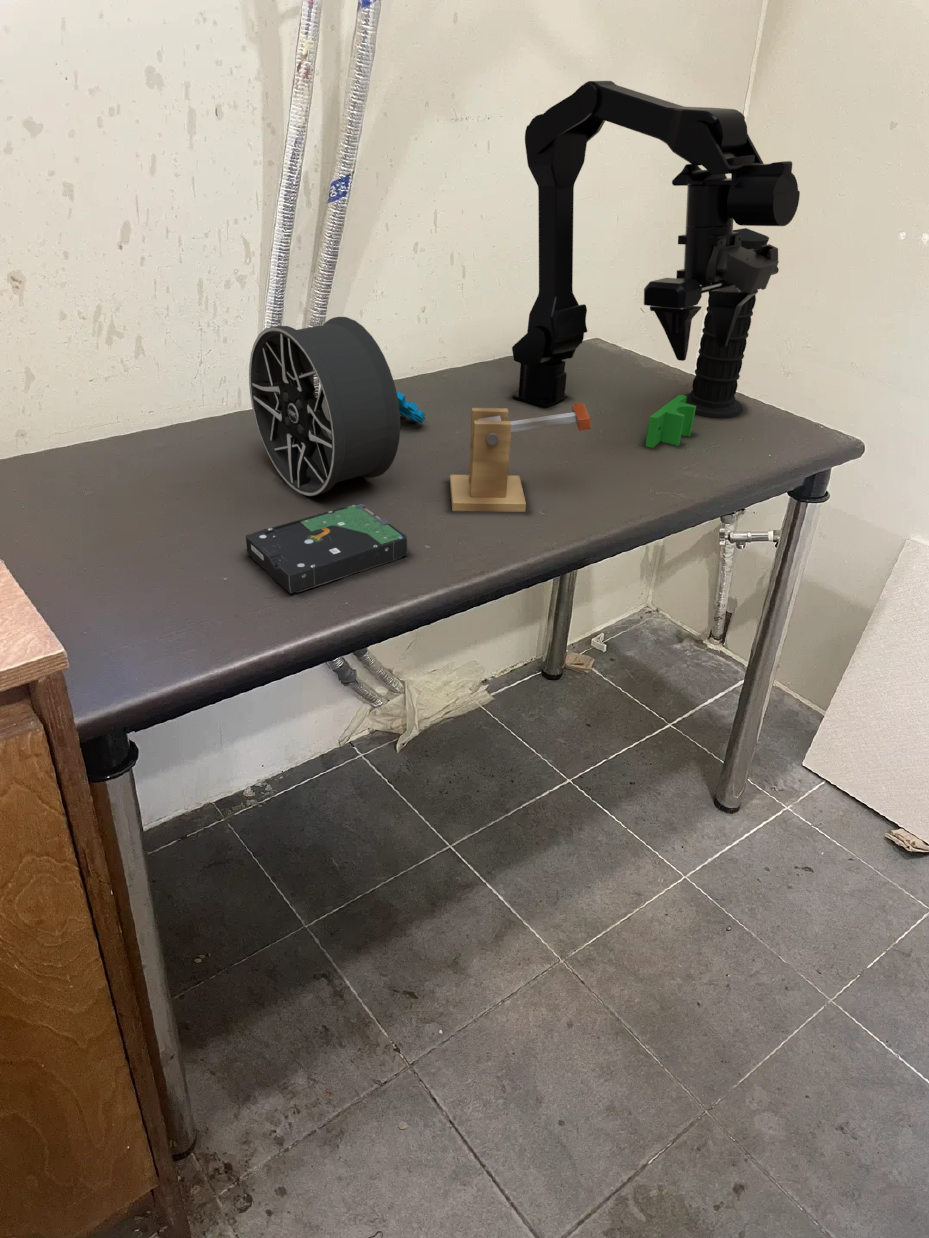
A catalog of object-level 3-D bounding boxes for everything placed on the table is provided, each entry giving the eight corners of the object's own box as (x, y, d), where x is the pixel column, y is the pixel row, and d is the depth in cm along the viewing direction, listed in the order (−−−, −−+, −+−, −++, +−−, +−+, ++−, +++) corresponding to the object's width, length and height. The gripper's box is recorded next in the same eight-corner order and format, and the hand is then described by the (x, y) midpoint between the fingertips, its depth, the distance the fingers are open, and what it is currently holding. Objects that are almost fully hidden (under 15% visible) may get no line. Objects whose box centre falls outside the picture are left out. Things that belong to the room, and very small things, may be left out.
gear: (440, 420, 131) (395, 380, 124) (418, 455, 131) (372, 416, 124) (398, 406, 139) (353, 367, 132) (377, 439, 138) (331, 402, 132)
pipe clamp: (669, 453, 129) (675, 423, 126) (645, 447, 131) (649, 416, 128) (698, 428, 137) (703, 399, 134) (674, 422, 138) (679, 393, 136)
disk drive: (292, 599, 94) (409, 556, 102) (289, 576, 93) (409, 535, 100) (245, 557, 101) (359, 520, 108) (243, 534, 99) (359, 499, 107)
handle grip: (678, 413, 142) (744, 421, 140) (711, 232, 127) (785, 238, 125) (679, 391, 150) (741, 398, 148) (709, 219, 135) (779, 224, 133)
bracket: (518, 483, 119) (525, 404, 113) (525, 512, 112) (532, 429, 106) (449, 482, 118) (452, 402, 112) (452, 511, 111) (455, 428, 105)
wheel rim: (256, 462, 121) (242, 308, 110) (316, 446, 126) (308, 298, 114) (337, 521, 108) (330, 354, 97) (400, 501, 113) (401, 340, 102)
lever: (584, 417, 112) (583, 398, 111) (591, 433, 108) (590, 414, 107) (478, 432, 113) (476, 414, 111) (481, 449, 109) (479, 430, 107)
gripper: (723, 235, 102) (714, 375, 109) (808, 218, 113) (795, 346, 120) (642, 233, 110) (639, 364, 117) (729, 217, 120) (722, 338, 128)
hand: (702, 353), depth 120 cm, fingers open, 9 cm apart
